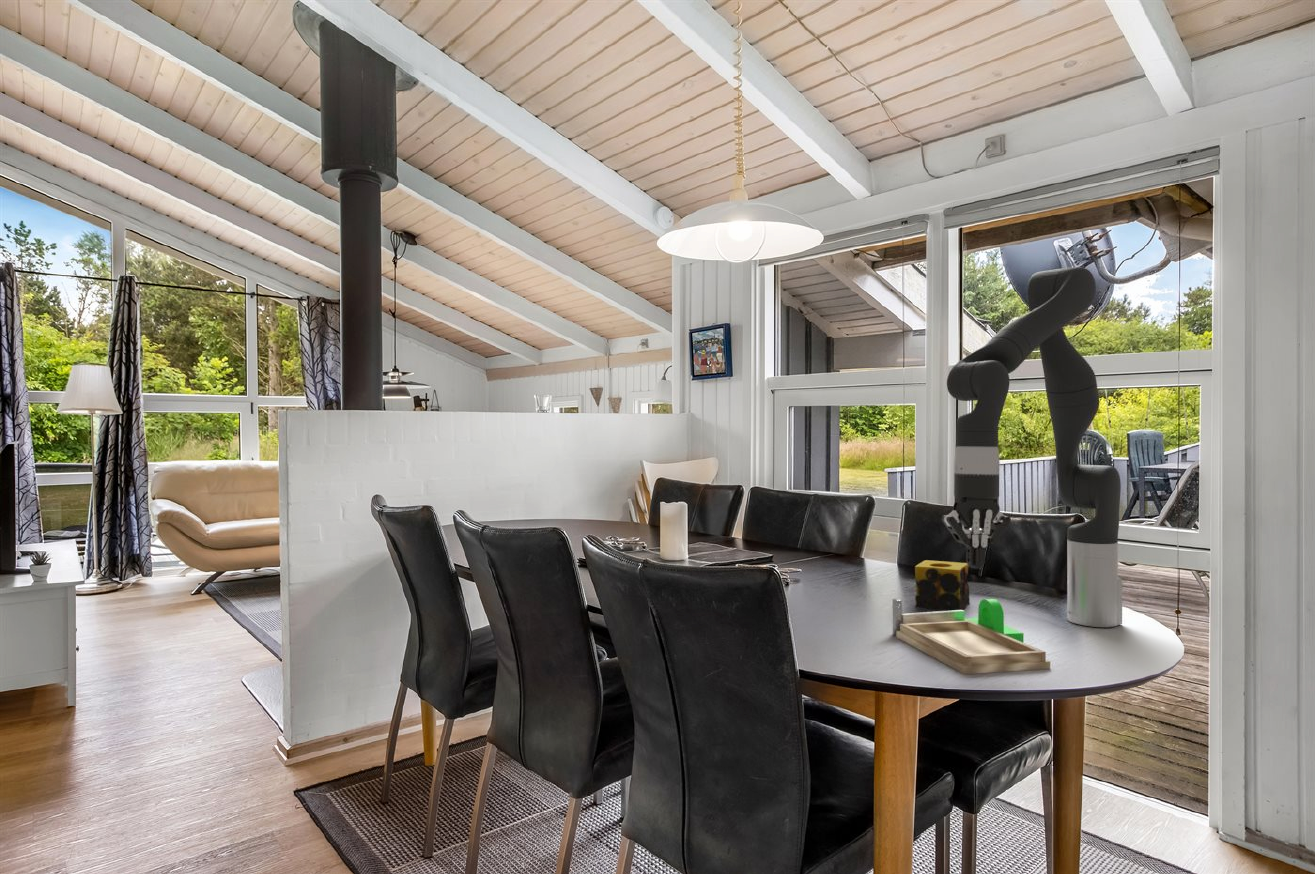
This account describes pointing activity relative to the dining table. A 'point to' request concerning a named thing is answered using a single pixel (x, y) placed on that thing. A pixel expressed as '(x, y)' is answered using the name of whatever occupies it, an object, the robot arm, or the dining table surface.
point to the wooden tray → (972, 647)
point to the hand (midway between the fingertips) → (975, 567)
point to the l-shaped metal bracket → (922, 616)
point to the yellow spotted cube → (942, 585)
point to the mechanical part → (995, 619)
